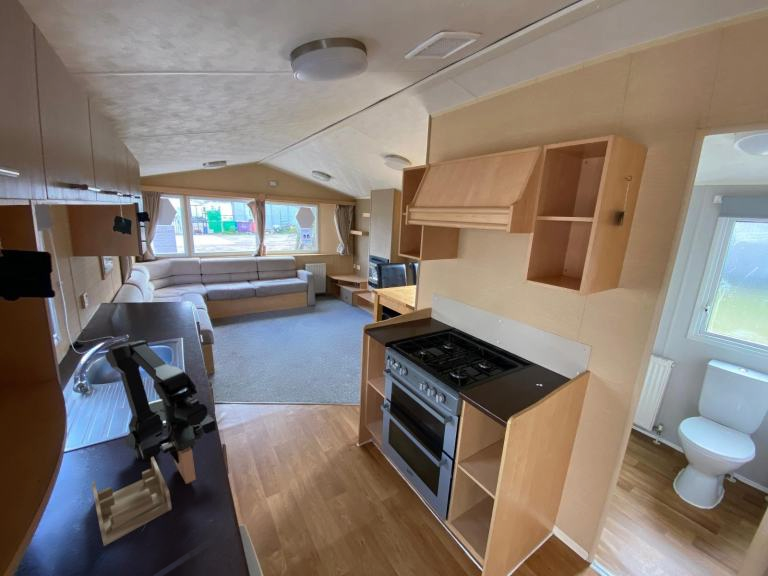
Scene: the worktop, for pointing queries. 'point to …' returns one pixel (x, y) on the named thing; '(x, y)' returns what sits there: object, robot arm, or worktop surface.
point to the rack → (108, 499)
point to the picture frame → (158, 409)
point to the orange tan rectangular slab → (186, 464)
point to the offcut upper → (131, 506)
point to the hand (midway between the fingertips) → (183, 460)
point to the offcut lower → (155, 504)
